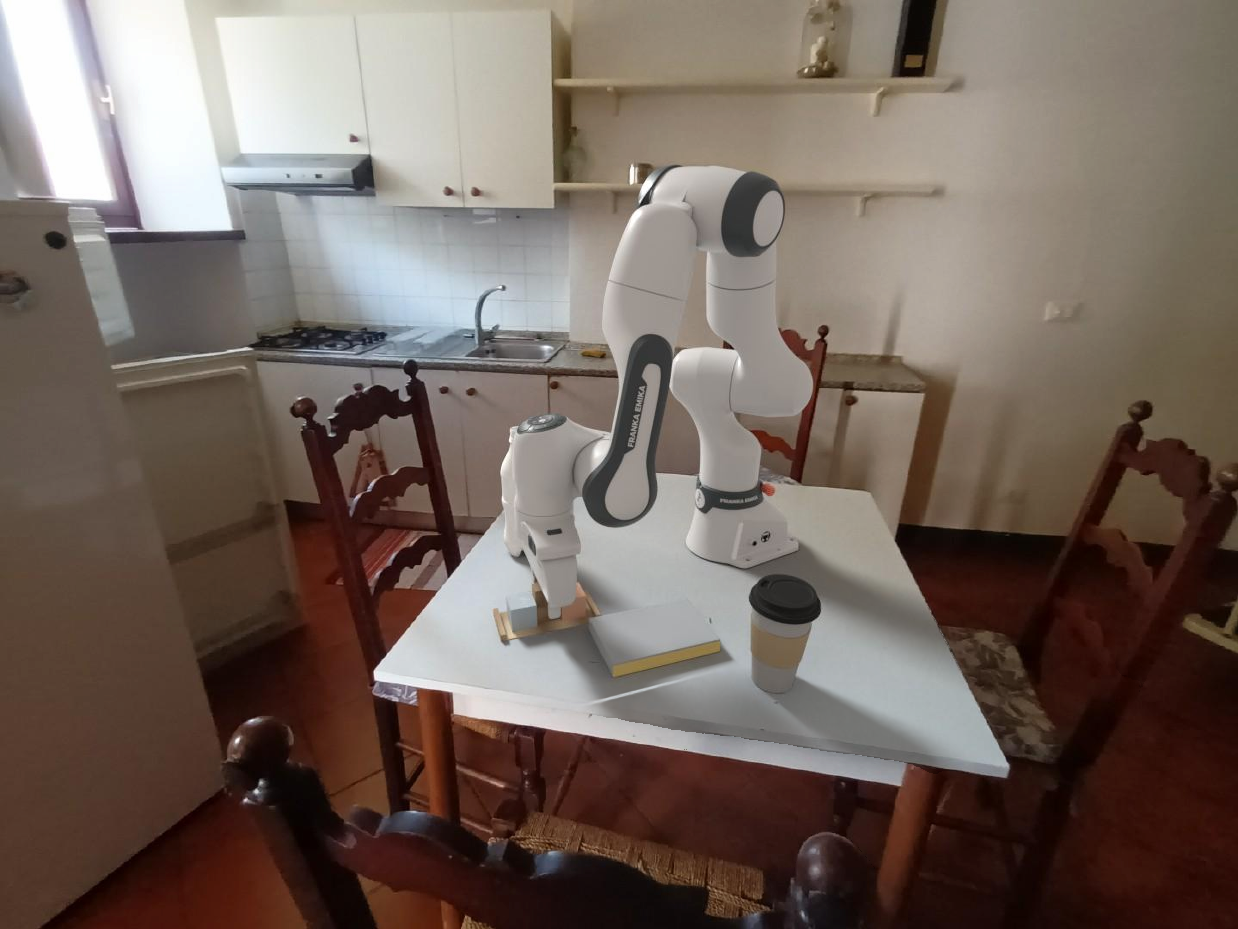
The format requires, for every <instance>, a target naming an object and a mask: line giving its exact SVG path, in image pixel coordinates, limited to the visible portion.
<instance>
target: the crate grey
mask: <svg viewBox="0 0 1238 929" xmlns="http://www.w3.org/2000/svg"><path fill="white" fill-rule="evenodd" d="M505 599H506V600H505V603H506V611H507V617H508V621H509V624H510V627H511V630H512V632H514V631H519V630H523V629H528V628H533V627H537V605H536V603H535V600H534V598H533V595H532V590H531V591H526V592H520V593H516V594H515V593H514V594H510V595H506V596H505Z"/></svg>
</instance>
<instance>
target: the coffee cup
mask: <svg viewBox="0 0 1238 929" xmlns="http://www.w3.org/2000/svg"><path fill="white" fill-rule="evenodd" d="M748 602H749V604H750V606H751V608H752V609H751V614H750V652H751V668H750V669H751V670H750V672H751V673H750V674H751V675H750V676H751V680H752V682H753V683H754V684H755V686H756V687H758V688H759V689H762V690H763V691H765V692H769V693H771V694H784V693H788V691H790V690H791V688H792V687H793V684H794V681H795V678H796V675H797V673H798V668H799V665H800V663H801V662H802V660H803V656H804V653H805V649H806V648H807V643H808V641H809V637H810V634H811V631H812V626H813V625H812V624H813V622H814V621H816V619H818V618H819V616H820V615H821V613H822V604H821V600H820V598H819V596H818V593H817V591H816V589H815V588H814V587H813V586H812V585H811V584H810V583H809V582H808V581H806V580H803V579H802V578H799V577H797V576H793V575H788V574H784V573H783V574H781V573H780V574H779V573H776V574H775V573H774V574H768V575H764V576H763V577H761V578H760V579H759V580H758V581H757V582H756V583H755V584H754V585H753V586H752V587H751V589H750V592H749V595H748Z"/></svg>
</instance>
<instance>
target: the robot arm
mask: <svg viewBox="0 0 1238 929" xmlns="http://www.w3.org/2000/svg"><path fill="white" fill-rule="evenodd" d="M636 201H637V202H636V210H635V211H634V212H633V213H632V215H631V216H630V218H629V220H628V222H627V225H626V227H625V229H624V232H623V233H622V236H621V239H620V240H619V243H618V246H617V249H616V252H615V255H614V258H613V261H612V264H611V269H610V272H609V275H608V280H607V284H606V288H605V292H604V297H603V304H602V316H601V320H602V321H601V330H602V333H603V336H604V339H605V341H606V344H608V347H609V350H610V352H611V355H612V357H613V360H614V363H615V365H616V367H615V368H616V371H617V376H618V395H617V401H616V407H615V411H614V417H613V422H612V427H611V431H608V430H601V429H593V428H590V427H586V426H583V425H581V424H579V423H577V422H574V421H573V420H571V419H569V418H568V417H567V416H566V415H564V414H561V413H550V412H549V413H548V412H547V413H541V414H537V415H534V416H530V417H529V418H528V419H525V420H524V421H523V422H521V423H520V425H518V426H519V427H518V428H517V430H516V433H515V436H514V442H513V455H512V470H513V481H514V483H515V486H516V495H515V499H514V520H515V534H516V536H517V537H518V538H519V539H520V540H521V545H522V548H523V550H522V551H523V553H524V554H525V557H526V559H527V560H528V563H529V565H530V571H531V578H532V579H531V580H532V582H533V584H534V583H539V585H540V587H541V589H542V591H543V593H544V596H545V598H546V600H547V602H548V604H547V613H548V616H549V618H550V619H555V618H559V617H560V615H561V607H564V606H569V605H572V604H573V602H574V601H575V597H576V587H577V583H578V559H577V555H580V554H581V551H582V550H581V549H582V545H581V540H580V537H579V534H578V530H577V528H576V523H575V522H576V517H575V513H574V512H575V511H574V510H575V509H574V508H575V507H574V506H575V505H574V502H575V499H577V498H582V500H583V503H584V506H585V508H586V511H587V513H588V515H589V516H590V518H591V519H592V520H593V521H594V522H596V523H597V524H599V525H601V526H603V527H606V528H613V529H616V528H617V529H618V528H625V527H629V526H631V525H633V524H635V523H638V522H639V521H640V520H642V519H643V518H645V516H647V515H648V513H649V512H650V511H651V510H652V508H653V506H654V505H655V504H656V503H655V502H656V500H657V497H658V487H659V486H658V480H657V479H658V478H657V472H656V456H657V449H658V444H659V441H660V440H659V439H660V435H661V429H662V426H663V421H664V416H665V410H666V404H667V400H668V396H669V395H668V394H669V390H670V392H671V393H672V395H673V397H674V398H675V399H676V400H677V401H678V402H679V403H681V405H683V407H684V408H685V410H687V412H688V414H690V417H691V418H692V420H693V422H694V424H695V426H696V429H697V432H698V437H699V445H700V446H699V449H700V455H699V456H700V457H699V459H700V460H699V463H700V464H699V474H698V475H697V478H696V482H695V483H696V486H695V493H694V494H695V497H694V499H695V502H694V504H695V506H694V512H693V513H694V514H693V517H692V521H691V525H690V527H689V528H690V529H689V531H688V533H687V536H686V538H685V544H686V546H687V548H688V549H689V551H691V552H692V553H693V554H695V555H696V556H698V557H701V558H703V559H705V560H707V561H712V562H716V563H717V562H718V563H723V564H729V565H731V566H733V567H737V568H740V569H749V568H751V567H754V566H757V565H760V564H762V563H767V562H768V561H771V560H775V559H777V558H780V557H782V556H786V555H788V554H791V553H794V552H796V551H798V550H799V541H798V539H797V538H796V537H795V535H794V533H792V532H791V531H789V523H788V519H787V517H786V516H785V514H784V513H783V512H782V510H781V509H779V507H777V506H776V505H775V504H773V503H772V502H771V501H769V499H767V497H772V496H774V494H775V492H776V488H775V487H774V486H772V485H771V484H770V483H768V482H767V483H764V481H763V480H761V479H760V478H759V472H760V463H761V457H762V446H761V444H760V442H759V440H758V438H757V437H756V436H755V435H754V434H753V432H751V431H749V430H748V429H747V428H745V426H742V424H741V423H740V422H739V421H738V420H737V418H736V416H735V414H734V413H740V414H747V415H753V416H759V417H765V418H779V417H780V418H781V417H783V418H784V417H795V416H796V415H798V414H799V413H801V412H802V411H803V410H804V409H805V407H806V406H807V405H808V404H809V402H810V400H811V398H812V394H813V390H814V380H813V376H812V373H811V370H810V368H809V367H808V365H807V364H806V363H805V362H804V361H803V360H801V359H800V358H799V357H798V356H796V354H795V353H794V352H793V351H792V350H791V349H790V348H789V346H788V345H787V343H786V341H785V340H784V339H783V337H782V335H781V333H780V330H779V327H778V323H777V317H776V311H777V310H776V291H777V290H776V287H777V286H776V285H777V272H778V271H777V269H778V268H777V267H778V266H777V265H778V258H777V257H778V256H777V252H778V251H777V238H778V237H779V235H780V233H781V231H782V229H783V224H784V222H785V215H786V200H785V197H784V194H783V192H782V190H781V188H780V186H779V183H778V182H777V181H776V180H775V179H773V178H772V177H770V176H767V175H765V174H763V173H760V172H757V171H748V172H747V171H744V170H740V169H736V168H730V167H725V166H719V165H709V166H696V165H694V166H693V165H691V166H683V165H679V164H672V165H665V166H662V167H658V168H655V169H654V170H653V171H651V173H650V174H649V175H648V176H647V178H646V179H645V181H644V182H643V183H642V186H641V188H640V191H639V194H638V197H637V200H636ZM700 252H706V266H705V269H706V270H705V275H706V276H705V286H706V288H705V289H706V290H705V291H706V292H705V293H706V294H705V296H706V297H705V298H706V299H705V302H706V304H705V305H706V308H705V309H706V313H705V314H706V321H707V323H708V325H709V327H710V329H711V330H712V332H713V333H714V334H715V335H716V336H718V337H719V338H721V339H722V340H723V341H725V342H726V343H728V345H731V347H732V348H733V349H731V348H728V349H727V348H719V347H710V346H705V347H704V346H703V347H702V346H701V347H692V348H685V349H682V350H681V351H679V352H678V353H677V354H676V355H674V354H675V348H676V343H677V338H678V333H679V329H680V326H681V321H682V317H683V315H684V310H685V307H686V301H687V299H688V295H689V292H690V289H691V288H690V286H691V282H692V278H693V273H694V268H695V261H696V260H695V259H696V257H697V255H698V254H699V253H700ZM674 356H675V357H674ZM764 494H765V495H766V496H767V497H764Z"/></svg>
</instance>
